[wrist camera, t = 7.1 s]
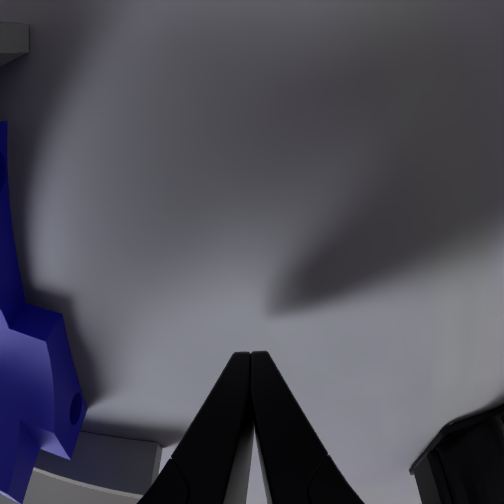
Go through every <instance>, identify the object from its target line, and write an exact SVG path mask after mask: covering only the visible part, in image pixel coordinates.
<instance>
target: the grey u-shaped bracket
mask: <svg viewBox="0 0 504 504" xmlns="http://www.w3.org/2000/svg"><path fill="white" fill-rule="evenodd" d="M27 53H29V24H20V23H9V22H0V66H2V65H4V64H6V63H8V62H10V61H12V60H14V59H16V58H18V57H20V56H23V55H25V54H27ZM161 455H162V448H161V446H160V445H159V443H157V442H148V441H139V440H131V439H123V438H117V437H110V436H104V435H98V434H93V433H87V432H82V431H80V432H79V435H78V438H77V442H76V445H75V448H74V451H73V454H72V458H71V460H69V459H66V458H63V457H61V456H58V455H55V454H53V453H50V452H48V451H45V450H43V449H40V450H39V453H38V456H37V459H36V462H35V465H34V468H33V470H34V471H36V472H39V473H42V474H45V475H48V476H51V477H54V478H57V479H60V480H64V481H66V482H70V483H73V484H77V485H80V486H84V487H88V488H92V489H96V490H100V491H104V492H108V493H113V494H118V495H123V496H129V497H134V498H140V499H141V498H142V497H143V495H144V494H145V493H146V492H147V491H148V489H149V488H150V487H151V485H152V484H153V482H154V481H155V480H156V478H157V477H158V474H159V467H160V461H161Z"/></svg>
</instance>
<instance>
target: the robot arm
mask: <svg viewBox="0 0 504 504" xmlns="http://www.w3.org/2000/svg"><path fill="white" fill-rule="evenodd" d="M254 427H255V435H256V441H257V447H258V453H259V459H260V464H261V470H262V475H263V481H264V486H265V492H266V497H267V503H268V504H365V503H364V502H363V501H362V500H361V499H360V497H359V496H358V495H357V494H356V492H355V491H354V490H353V489H352V488H351V486H350V485H349V484H348V482H347V481H346V479H345V478H344V476H343V475H342V474H341V472H340V471H339V469H338V468H337V466H336V465H335V463H334V461H333V460H332V458H331V457H330V455H328V452H327V450H326V449H325V447H324V445H323V444H322V442H321V441H320V439H319V437H318V436H317V434H316V432H315V431H314V429H313V427H312V426H311V424H310V422H309V421H308V419H307V417H306V416H305V414H304V412H303V411H302V409H301V407H300V406H299V404H298V402H297V401H296V399H295V397H294V396H293V394H292V392H291V391H290V389H289V387H288V385H287V384H286V382H285V380H284V379H283V377H282V375H281V373H280V372H279V370H278V368H277V367H276V365H275V363H274V361H273V360H272V358H271V356H270V354H269V353H268V352H267V351H253V352H252V353H251V354H250V352H235V353H233V355H232V356H231V358H230V360H229V361H228V363H227V365H226V367H225V368H224V370H223V372H222V373H221V375H220V377H219V378H218V380H217V382H216V383H215V385H214V387H213V388H212V390H211V392H210V393H209V395H208V397H207V398H206V400H205V402H204V403H203V405H202V407H201V408H200V410H199V412H198V413H197V415H196V417H195V418H194V420H193V422H192V423H191V425H190V426H189V428H188V430H187V431H186V433H185V435H184V436H183V438H182V439H181V441H180V443H179V444H178V446H177V447H176V449H175V451H174V452H173V454H172V455H171V458H172V459H171V458H170V459H169V460H168V462H167V463H166V465H165V466H164V468H163V469H162V471H161V472H160V474H159V475H158V477H157V478H156V480H155V481H154V482H153V484H152V485H151V487H150V488H149V489H148V491H147V492H146V493H145V494H144V495H143V497H142V498H141V499H140V500H139V502H138V503H137V504H246V498H247V489H248V481H249V473H250V465H251V456H252V447H253V439H254ZM409 472H410V475H413V474H414V475H415V479H416V482H417V486H418V490H419V494H420V497H421V501H422V504H504V406H503V407H500V408H498V409H496V410H493V411H491V412H488V413H485V414H483V415H480V416H478V417H475V418H472V419H469V420H467V421H464V422H461V423H458V424H455V425H452V426H449V427H447V428H445V429H444V430H442V431H441V432H440V433H439V435H438V436H437V437H436V438H435V440H434V441H433V442H432V443H431V445H430V446H429V447H428V448H427V449H426V451H425V452H424V453H423V454H422V455H421V456H420V458H419V459H418V460H417V461H416V462H415V463H414V464H413V465H412V467H411V468H410V469H409Z"/></svg>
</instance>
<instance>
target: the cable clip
mask: <svg viewBox="0 0 504 504" xmlns="http://www.w3.org/2000/svg"><path fill="white" fill-rule="evenodd" d="M86 412H87V407H86V404H85V401H84V398H83V394H82V391H81V388H80V385H79V381H78V378H77V374H76V371H75V367H74V363H73V360H72V356H71V352H70V348H69V343H68V339H67V335H66V330H65V325H64V321H63V316H62V314H60V313H57V312H54V311H50V310H47V309H44V308H40V307H37V306H34V305H31V304H28V303H27V302H26V298H25V294H24V290H23V285H22V281H21V276H20V271H19V266H18V260H17V255H16V249H15V243H14V236H13V229H12V221H11V212H10V202H9V190H8V172H7V121H0V494H2V495H4V496H6V497H8V498H10V499H12V500H14V501H16V502H18V503H20V504H23V500H24V496H25V493H26V490H27V486H28V483H29V480H30V477H31V474H32V471H33V468H34V465H35V462H36V459H37V456H38V453H39V450H40V449H43V450H45V451H48V452H50V453H53V454H55V455H58V456H61V457H63V458H66V459H69V460H71V458H72V454H73V451H74V448H75V445H76V442H77V438H78V435H79V432H80V429H81V426H82V423H83V420H84V417H85V415H86Z"/></svg>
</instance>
